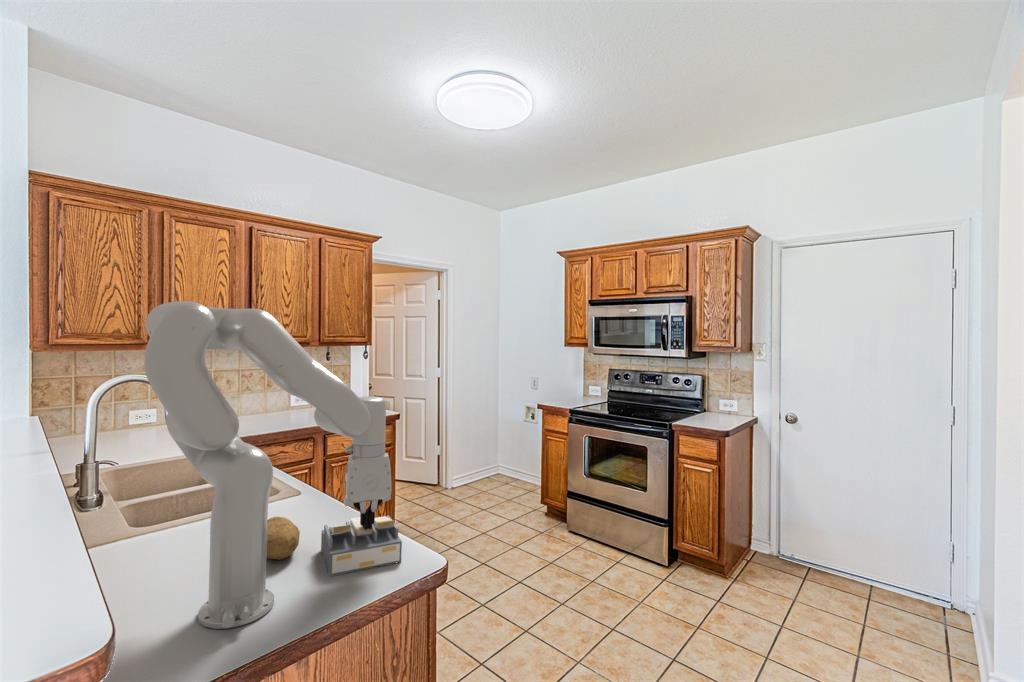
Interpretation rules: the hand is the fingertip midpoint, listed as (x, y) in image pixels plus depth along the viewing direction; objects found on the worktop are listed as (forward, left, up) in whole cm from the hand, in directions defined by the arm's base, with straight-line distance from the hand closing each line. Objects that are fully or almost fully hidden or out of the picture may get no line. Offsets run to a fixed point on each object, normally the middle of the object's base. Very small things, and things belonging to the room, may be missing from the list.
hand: (367, 527), depth 113 cm
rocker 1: (+3, +6, -1) cm, 7 cm away
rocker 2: (+3, +1, -1) cm, 4 cm away
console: (+3, +1, -8) cm, 9 cm away
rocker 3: (+3, -4, -1) cm, 6 cm away
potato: (+11, +18, -8) cm, 23 cm away
